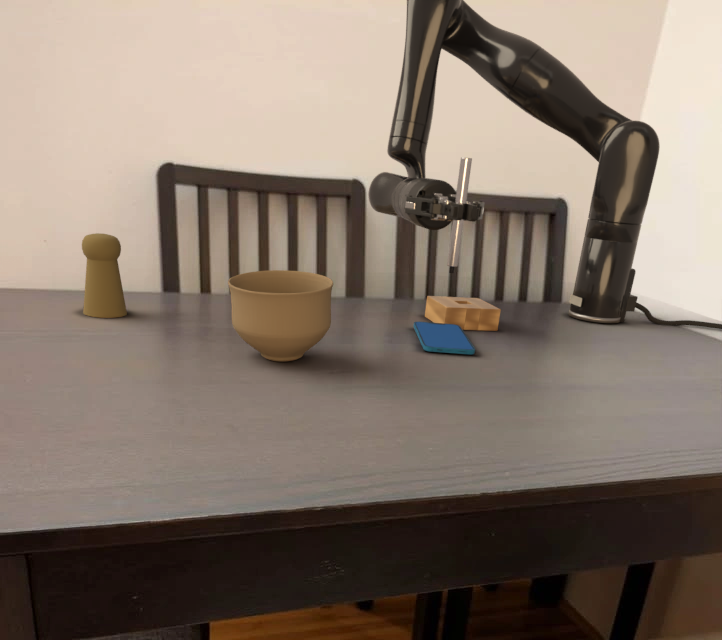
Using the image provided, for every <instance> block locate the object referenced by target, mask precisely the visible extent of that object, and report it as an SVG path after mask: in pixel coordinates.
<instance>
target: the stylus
mask: <svg viewBox="0 0 722 640" xmlns="http://www.w3.org/2000/svg"><path fill="white" fill-rule="evenodd" d="M472 162H473V158H472V157H463V156H462V157H460V162H459V169H458V178H457V185H456V191H455V192H456V200H455V203H458V204H463V213H462V219H461V221H458V220H453V221H452V222H451V223H452V226H451V230H450V240H449V247H448V255H447V263H446V266H447V267H449V270H448V273H449V274H454V273H455V268H457V267H458V266H459V259H460V253H461V244H462V237H463V230H464V222H465V221H464V215H465V208H466V201H468V193H469V185H470V179H471V170H472V164H473V163H472Z"/></svg>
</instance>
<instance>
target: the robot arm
mask: <svg viewBox="0 0 722 640" xmlns="http://www.w3.org/2000/svg"><path fill="white" fill-rule="evenodd" d="M405 22H406V23H405V38H404V49H403V59H402V66H401V72H400V79H399V84H398V90H397V94H396V100H395V104H394V110H393V116H392V121H391V124H390V125H391V126H390V129H389V136H388V141H387V149H386V152H387V155H388V157H390V158H391V159H392V160H394V161H396V162H398V163H400V164H401V165H402V166H404V168H405V170H406V173H407V176H405V175H401V174H396V173H392V172H389V171H383V172H380V173H378V174H377V175H376V176H374V177H373V179H372V181H371V182H370V184H369V188H368V194H367V195H368V201H369V204H370V206H371V208H372V209H373V210H374V211H375V212H376V213H380V214H383V215H389V216H393V217H397V218H401V219H403V220H405V221H408V222H410V223H411V224H412V225H415V226H418V227H421V228H423V229H426V230H429V231H439V230H442V229H444V228H446V227H448V226H449V225H451V223H453V220H458V221H461V219H462V213H463V204H458V203H455V200H456V192H457V191H456V190H455V188H454V187H453V186H452V185H451V184H450V183H449V182H447V181H445V180H442V179H435V178H429V177H427V176H426V175H427V174H426V173H427V172H426V159H427V158H426V156H427V149H428V144H429V139H430V133H431V129H432V124H433V123H432V122H433V116H434V110H435V109H434V108H435V99H436V86H437V77H438V69H439V68H438V67H439V63H440V57H441V54H442V53H441V52H442V50H443V51H445V52H447V53H448V54H449V55H451V56H454V57H455V58H457V59H458V60H460V61H461V62H463V63H465V64H466V65H467V66H469V67H470V68H471V69H472V70H473V71H474V72H475V73H477V75H479V76H480V77H481V78H482V79H483V80H484V81H486V83H488V84H489V85H490V86H491V87H493V88H494V89H495V90H497V92H499V93H500V94H501V95H502V96H504V98H506V99H507V100H509V101H510V102H511V103H512V104H514V105H515V106H517V107H518V108H519V109H521V110H522V111H524V112H525V113H526V114H528V115H530V116H531V117H532V118H534V119H536V120H538V121H539V122H541V123H542V124H544V125H546V126H548V127H550V128H551V129H553V130H555V131H557V132H559V133H561V134H563V135H564V136H566V137H568V138H570V139H571V140H573V141H574V142H575V143H577V145H579V146H580V147H581V148H582V149H584V151H586V152H587V153H588V154H589V155H590V156H591V157H592V158H593V159H594V160H596V161H597V162H598V165H597V171H596V176H595V179H594V185H593V190H592V196H591V201H590V206H589V213H588V217H587V221H586V226H585V232H584V237H583V242H582V247H581V251H580V257H579V261H578V267H577V270H576V271H577V272H576V276H575V282H574V286H573V291H572V294H570V297H569V301H568V303H569V305H570V306H569V310H568V316H569V317H571V318H574V319H577V320H580V321H585V322H590V323H599V324H618V323H625V320H626V315H627V312H635V309H638V310H639V311H640V312H642V313H643V314H644V316H645V317H646V319H647V320H648V321H649V322H651V323H652V324H655V325H661V326H675V327H678V326H692V327H700V328H707V329H708V328H709V329H717V330H722V323H716V322H708V321H700V320H688V319H685V320H683V319H681V320H662V319H659V318H656V317H654V316H653V315H652V313H651V311H650V310H649V309H648V308H647V307H646V306H645V305H643V304H641V303H639V302H637V301H638V296H636V295H634V294H631V293H632V289H633V285H634V281H635V277H636V269H635V268H633V264H634V259H635V256H636V250H637V248H638V247H637V246H638V241H639V237H640V233H641V229H642V224H643V220H644V216H645V212H646V209H647V205H648V202H649V199H650V194H651V189H652V185H653V181H654V177H655V173H656V168H657V164H658V159H659V155H660V139H659V136H658V134H657V132H656V130H655V129H654V127H653V126H651V125H650V124H648V123H647V122H644V121H641V120H633V119H630V118H628V117H626V116H625V115H624V114H622V113H620V112H618V110H615V109H613V108H611V107H610V106H609V105H607V104H606V103H604V102H603V101H602V100H601V99H600V98H598V97H597V96H596V95H595V94H594V93H593V92H592V91H591V90H590V89H589V88H588V86H586V84H585V83H584V82H583V81H582V80H581V79H580V78H579V77H578V75H576V74H575V73H574V72H573V71H572V70H571V69H570V68H569V67H567V66H566V65H565V63H563V62H562V61H561V60H559V59H558V58H557V57H556V56H554V55H553V54H551V53H550V52H549V51H547V50H546V49H544V48H543V47H542V46H540V45H539V44H537V43H536V42H534V41H532V40H530V39H528V38H527V37H525V36H522V35H519V34H517V33H514V32H510V31H507V30H505V29H502V28H499V27H498V26H496V25H493V24H492V23H490V22H489V21H488V20H486V19H485V18H484V17H483V16H481V15H480V14H479V13H478V12H477V11H476V10H474V9H473V7H471V5H469V4H468V3H467V2H466V1H465V0H406V21H405ZM485 203H486V202H484V201H483V200H479V201H473V202H470V201H468V200H466V208H465V215H464V222H473V223H474V222H476V221H478V222H479V221H481V220H483V217H484V211H485Z"/></svg>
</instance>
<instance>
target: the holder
mask: <svg viewBox="0 0 722 640" xmlns="http://www.w3.org/2000/svg"><path fill="white" fill-rule="evenodd" d="M501 311H502V310H501V308H498V307H497V306H495V305H493V304H492V303H489V302H487V301H485V300H483V299H481V298H479V297H462V296H461V297H460V296H442V295H441V296H440V295H439V296H438V295H427V296H426V303H425V310H424V317H425V318H426V319H428V320H429V321H430V322H431V323H444V324H455V325H459V326H460V327H461V328H462V330H463V331H487V332H488V331H490V332H491V331H493V332H497V331H498V329H499V324H500V319H501V318H500V316H501Z"/></svg>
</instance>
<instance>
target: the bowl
mask: <svg viewBox="0 0 722 640" xmlns="http://www.w3.org/2000/svg"><path fill="white" fill-rule="evenodd" d="M227 284H228V287H229V291H230V301H231V323H232V327H233V329H234V331H235V332H236V333H237V334H238V336H239V337H240V338H241V340H243V341H244V342H245V343H246V344H247V345H249V346H250V347H251V348H253V349H254V350H255V351H257V352H258V353H260V355H261V357H263V358H264V359H266V360H269V361H272V362H273V361H274V362H281V363H283V362H292V361H296V360H298V359H301V358H302V357H303V356H304V354H305V353H306V352H308V351H309V350H310V349H311V348H313V347H314V346H315V345H317V344H318V343H319V342H320V341H321V340H322V339H323V338H324V337H325V335H326V334H327V333H328V331H329V330H330V329H331V328H330V327H331V324H332V291H333V288H334V281H333V280H332V279H331V278H329V277H328V276H325V275H322V274H319V273H314V272H307V271H300V270H287V269H285V270H283V269H281V270H280V269H279V270H278V269H277V270H273V269H272V270H271V269H269V270H257V271H250V272H243V273H239V274H237V275H234V276H232V277H230V278H229V279H228V281H227Z"/></svg>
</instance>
